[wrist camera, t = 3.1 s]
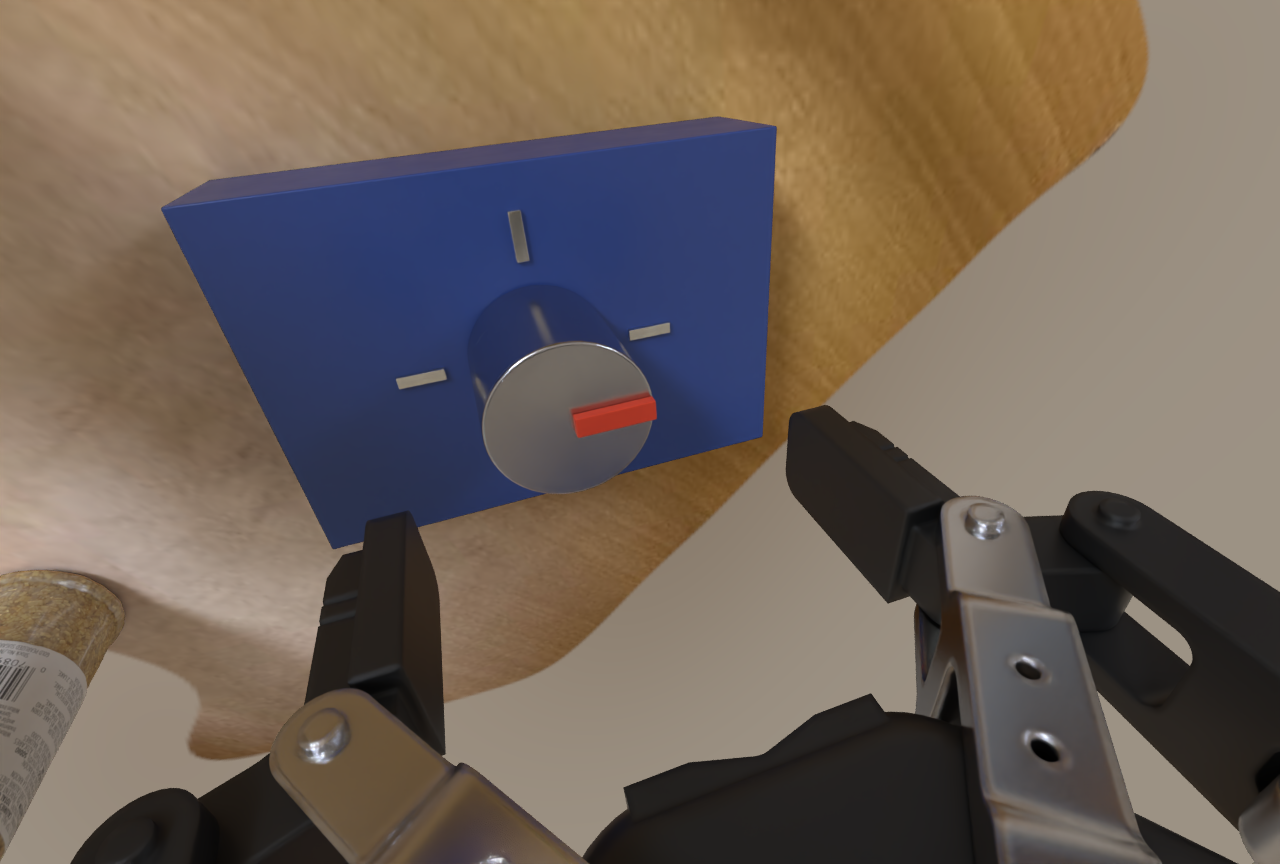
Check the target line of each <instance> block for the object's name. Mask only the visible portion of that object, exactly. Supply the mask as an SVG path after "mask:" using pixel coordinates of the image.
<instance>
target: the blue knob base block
mask: <svg viewBox="0 0 1280 864" xmlns="http://www.w3.org/2000/svg"><path fill="white" fill-rule="evenodd" d="M776 131H777V128H776V126H772V125H766V124H760V123H754V122H748V121H742V120H736V119H730V118H724V117H711V118H703V119H695V120H687V121H679V122H671V123H663V124H655V125H647V126H639V127H631V128H623V129H615V130H607V131H599V132H591V133H583V134H575V135H567V136H559V137H551V138H543V139H536V140H528V141H520V142H512V143H504V144H496V145H488V146H480V147H472V148H464V149H456V150H448V151H440V152H432V153H424V154H416V155H408V156H400V157H392V158H384V159H376V160H368V161H360V162H352V163H344V164H336V165H328V166H320V167H312V168H304V169H296V170H288V171H280V172H272V173H264V174H256V175H248V176H240V177H232V178H224V179H216V180H209V181H207V182H206V183H204V184H202V185H200V186H199V187H197V188H195V189H193V190H192V191H190V192H188V193H186V194H185V195H183V196H181V197H179V198H178V199H176V200H174V201H172V202H171V203H169V204H167V205H165V206H164V207H162V208H161V210H162V212H163V214H164V216H165V218H166V220H167V222H168V224H169V226H170V228H171V230H172V232H173V234H174V236H175V238H176V240H177V242H178V244H179V246H180V248H181V250H182V252H183V254H184V256H185V258H186V260H187V262H188V264H189V266H190V268H191V270H192V272H193V274H194V275H195V277H196V279H197V281H198V283H199V285H200V287H201V289H202V291H203V293H204V295H205V297H206V299H207V301H208V303H209V305H210V307H211V309H212V311H213V313H214V315H215V317H216V319H217V321H218V323H219V325H220V327H221V329H222V331H223V333H224V335H225V337H226V339H227V341H228V343H229V345H230V347H231V349H232V351H233V353H234V355H235V357H236V359H237V361H238V363H239V365H240V367H241V369H242V370H243V372H244V374H245V376H246V378H247V380H248V382H249V384H250V386H251V388H252V390H253V392H254V394H255V396H256V398H257V400H258V402H259V404H260V406H261V408H262V410H263V412H264V414H265V416H266V418H267V420H268V422H269V424H270V426H271V428H272V430H273V432H274V434H275V436H276V438H277V440H278V442H279V444H280V446H281V448H282V450H283V452H284V454H285V456H286V458H287V460H288V462H289V464H290V465H291V467H292V469H293V471H294V473H295V475H296V477H297V479H298V481H299V483H300V485H301V487H302V489H303V491H304V493H305V495H306V497H307V499H308V501H309V503H310V505H311V507H312V509H313V511H314V513H315V515H316V517H317V519H318V521H319V523H320V525H321V527H322V529H323V531H324V533H325V535H326V537H327V539H328V541H329V543H330V545H331V547H332V548H333V549H337V548H341V547H344V546H348V545H352V544H356V543H360V542H363V541H364V534H365V526H366V522H367V521H368V520H372V519H376V518H380V517H384V516H388V515H392V514H395V513H399V512H403V511H407V510H408V511H410V513H411V514H412V516H413V518H414V521H415V523H416V526H417V527H421V526H424V525H428V524H432V523H436V522H440V521H443V520H447V519H451V518H455V517H459V516H463V515H466V514H470V513H474V512H478V511H482V510H485V509H489V508H493V507H497V506H501V505H504V504H508V503H512V502H516V501H520V500H523V499H527V498H531V497H535V496H539V495H543V494H546V493H541V492H536V491H532V490H529V489H527V488H524V487H522V486H520V485H518V484H516V483H514V482H513V481H511V480H510V479H508V478H507V477H506V476H504V475H503V474H502V473H501V472H500V471H499V470H498V469H497V468H496V466H495V465H494V464H493V462H492V461H491V459H490V457H489V456H488V454H487V452H486V449H485V446H484V443H483V438H482V433H481V428H480V422H479V417H478V412H477V407H476V401H475V396H474V391H473V386H472V380H471V375H470V370H469V365H468V355H467V350H468V342H469V338H470V334H471V332H472V329H473V327H474V325H475V323H476V321H477V320H478V318H479V316H480V315H481V314H482V313H483V311H484V310H485V309H486V308H487V307H488V306H489V305H490V304H491V303H492V302H494V301H495V300H496V299H498V298H499V297H500V296H502V295H504V294H506V293H508V292H510V291H512V290H515V289H518V288H521V287H525V286H531V285H552V286H558V287H562V288H565V289H568V290H570V291H572V292H575V293H576V294H578V295H580V296H581V297H583V298H584V299H585V300H587V301H588V302H589V303H590V304H591V305H592V306H593V307H594V308H595V309H596V311H597V312H598V313H599V315H600V316H601V317H602V319H603V320H604V321H605V323H606V324H607V325H608V327H609V328H610V329H611V330H612V332H613V333H614V334H615V336H616V337H617V338H618V340H619V341H620V342H621V344H622V345H623V346H624V348H625V349H626V350H627V352H628V353H629V354H630V356H631V357H632V358H633V360H634V361H635V362H636V364H637V365H638V366H639V368H640V369H641V371H642V372H643V373H644V375H645V377H646V379H647V381H648V383H649V385H650V388H651V392H652V397H653V398H654V400H655V401H656V411H657V419H655V420H652V425H651V429H650V432H649V435H648V437H647V439H646V442H645V443H644V445H643V447H642V449H641V450H640V452H639V453H638V454H637V456H636V457H635V458H634V460H633V461H632V462H631V463H630V464H629V465H628V466H627V467H626V468H625V469H623V470H622V471H621V472H620V473H619V474H623V473H626V472H630V471H634V470H638V469H642V468H645V467H649V466H653V465H657V464H661V463H664V462H668V461H672V460H676V459H680V458H684V457H687V456H691V455H695V454H699V453H703V452H706V451H710V450H714V449H718V448H722V447H725V446H729V445H733V444H737V443H741V442H744V441H748V440H752V439H756V438H760V437H762V435H763V413H764V391H765V370H766V348H767V326H768V305H769V283H770V261H771V239H772V218H773V196H774V174H775V152H776ZM619 474H617V475H619Z"/></svg>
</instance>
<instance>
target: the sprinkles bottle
mask: <svg viewBox="0 0 1280 864" xmlns="http://www.w3.org/2000/svg"><path fill="white" fill-rule="evenodd" d="M124 618H125V614H124V609H123V607H122V602H121V601H120V600H119V599H118V598H117V597H116V596H115V595H114V594H113V593H112V592H110V591H109V590H108V589H106V588H105V587H104V586H103V585H101V584H99V583H96V582H95V581H93V580H91V579H89V578H87V577H84V576H81V575H77V574H73V573H66V572H61V571H49V570H30V571H18V572H13V573H9V574H5V575H1V576H0V861H1V859H2V858H3V856H4V854H5V852H6V850H7V848H8V846H9V844H10V842H11V840H12V838H13V837H14V835H15V833H16V831H17V829H18V827H19V825H20V823H21V821H22V819H23V817H24V815H25V813H26V811H27V809H28V807H29V805H30V803H31V801H32V799H33V797H34V795H35V793H36V792H37V789H38V788H39V786H40V784H41V782H42V780H43V778H44V776H45V774H46V772H47V770H48V768H49V766H50V764H51V762H52V760H53V758H54V757H55V755H56V753H57V751H58V749H59V747H60V745H61V743H62V741H63V739H64V737H65V736H66V734H67V732H68V730H69V728H70V726H71V724H72V722H73V720H74V718H75V716H76V714H77V712H78V711H79V709H80V707H81V705H82V703H83V701H84V698H85V696H86V693H87V688H88V686H89V684H90V682H91V680H92V678H93V677H94V675H95V673H96V671H97V669H98V668H99V666H100V663H101V661H102V660H103V657H104V655H105V653H106V651H107V649H108V647H109V646H110V645H111V644H112V643H113V642H114V641H115V640H116V638H117V637H118V635H119V633H120V631H121V629H122V628H123V625H124Z"/></svg>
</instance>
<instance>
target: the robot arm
mask: <svg viewBox="0 0 1280 864" xmlns="http://www.w3.org/2000/svg"><path fill="white" fill-rule="evenodd" d="M786 477H787V482H788V485H789V487H790V490H791V491H792V493H793V495H794V496H795V498H796V499H797V500H798V501H799V502H800V504H802V505H803V507H804V508H805V509H806V510H807V511H808V513H809V514H810V515H811V516H812V517H813V518H814V520H815V521H816V522H817V523H818V524H819V525H820V526H821V528H822V529H823V530H824V531H825V532H826V533H827V534H828V536H829V537H830V538H831V539H832V540H833V541H834V542H835V544H836V545H837V546H838V547H839V548H840V549H841V550H842V552H843V553H844V554H845V555H846V556H847V557H848V558H849V560H850V561H851V562H852V563H853V564H854V565H855V566H856V568H857V569H858V570H859V571H860V572H861V573H862V574H863V576H864V577H865V578H866V579H867V580H868V581H869V582H870V584H871V585H872V586H873V587H874V588H875V589H876V590H877V592H878V593H879V594H880V595H881V596H882V597H883V598H884V599H885V601H886V602H887V603H891V602H894V601H897V600H900V599H903V598H906V597H909V596H910V597H911V598H912V599H913V600H914V601H915V602H916V603H917V604H916V607H915V612H914V630H915V658H916V683H917V701H916V711H915V714H913V713H905V712H884V711H883V709H882V708H881V706H880V705H879V704H878V703H877V701H876V699H875V698H874V697H873V695H872V694H868V695H865V696H863V697H860V698H857V699H855V700H852V701H849V702H847V703H844V704H842V705H839V706H836V707H834V708H831V709H828V710H826V711H823V712H821V713H818V714H815V715H814V716H812V717H811V718H810V719H809V720H807V721H806V722H805V723H803V724H802V725H801V726H800V727H798V728H797V729H796V730H794V731H793V732H792V733H791V734H789V735H788V736H787V737H786V738H784V739H783V740H782V741H780V742H779V743H778V744H777V745H776V746H774V747H773V748H771V749H770V750H769V751H767V752H766V753H764V754H762V755H759V756H754V757H743V758H733V759H722V760H712V761H701V762H690V763H687V764H684V765H681V766H679V767H676V768H673V769H671V770H668V771H666V772H663V773H660V774H658V775H655V776H652V777H650V778H647V779H645V780H642V781H639V782H637V783H634V784H631V785H629V786H626V787H624V793H625V798H626V803H627V808H628V809H627V810H625V811H624V812H623V813H621V814H620V815H619V816H618V817H616V818H615V819H614V820H613V821H612V822H611V823H610V824H609V825H608V826H607V827H606V828H605V829H604V830H603V831H602V832H601V833H600V834H599V835H598V836H597V838H596V839H595V840H594V841H593V843H592V844H591V845H590V846H589V848H588V849H587V851H586V852H585V854H584V855H583V857H581V856H579V855H578V854H577V853H576V852H575V851H573V850H572V849H571V848H570V847H569V846H567V845H566V844H565V843H564V842H562V841H561V840H560V839H559V838H557V837H556V836H555V835H554V834H553V833H552V832H550V831H549V830H548V829H547V828H546V827H544V826H543V825H542V824H541V823H539V822H538V821H537V820H536V819H535V818H533V817H532V816H531V815H530V814H529V813H527V812H526V811H525V810H524V809H522V808H521V807H520V806H519V805H518V804H516V803H515V802H514V801H513V800H512V799H510V798H509V797H508V796H507V795H505V794H504V793H503V792H502V791H501V790H499V789H498V788H497V787H496V786H494V785H493V784H492V783H491V782H490V781H489V780H487V779H486V778H485V777H484V776H483V775H481V774H480V773H479V772H477V771H476V770H475V769H473V768H472V767H470V766H469V765H467V764H464V763H459V764H458V765H457V766H454V765H453V764H451V763H450V762H448V761H447V760H446V759H445V758H443V757H442V755H445V728H444V702H443V677H442V651H441V626H440V600H439V591H438V585H437V580H436V576H435V573H434V569H433V566H432V564H431V561H430V559H429V556H428V554H427V551H426V549H425V546H424V544H423V541H422V538H421V536H420V533H419V531H418V528H417V526H416V523H415V521H414V518H413V516H412V514H411V513H410V511H408V510H407V511H403V512H399V513H395V514H392V515H388V516H384V517H380V518H376V519H372V520H368V521H367V522H366V526H365V534H364V543H363V550H360V551H357V552H353V553H349V554H345V555H342V557H341V558H340V560H339V561H338V563H337V564H336V566H335V567H334V569H333V570H332V572H331V573H330V575H329V576H328V578H327V581H326V587H325V592H324V598H323V605H324V606H323V607H322V609H321V615H320V620H319V622H320V626H319V627H318V631H317V637H316V643H315V648H314V654H313V659H312V665H311V670H310V676H309V682H308V687H307V693H306V698H305V703H304V706H302V707H301V708H300V709H298V710H297V711H296V712H295V713H294V714H293V715H292V716H291V717H290V718H289V719H288V720H287V722H286V723H285V724H284V725H283V727H282V728H281V730H280V731H279V732H278V734H277V736H276V738H275V740H274V742H273V745H272V748H271V751H270V753H269V754H268V755H267V756H265V757H264V758H263V759H262V760H260V761H259V762H257V763H256V764H254V765H253V766H251V767H250V768H248V769H246V770H245V771H243V772H242V773H240V774H238V775H236V776H235V777H233V778H231V779H230V780H228V781H226V782H225V783H223V784H222V785H220V786H218V787H217V788H215V789H213V790H212V791H210V792H208V793H207V794H205V795H203V796H202V797H200V798H198V799H197V798H196V797H195V796H194V795H193V794H191V793H190V792H188V791H186V790H183V789H180V788H168V789H161V790H158V791H155V792H152V793H149V794H146V795H144V796H142V797H140V798H138V799H136V800H134V801H132V802H131V803H129V804H127V805H126V806H125V807H123V808H121V809H120V810H119V811H117V812H116V813H114V814H113V815H112V816H111V817H110V818H108V819H107V820H106V821H105V822H104V823H103V824H102V825H101V826H100V827H98V828H97V829H96V830H95V831H94V833H93V834H92V835H91V836H90V837H89V838H88V839H87V840H86V841H85V843H84V844H83V845H82V847H81V848H80V849H79V851H78V852H77V854H76V855H75V857H74V859H73V860H72V862H71V864H1237V863H1235V862H1233V861H1231V860H1229V859H1227V858H1225V857H1223V856H1221V855H1219V854H1217V853H1215V852H1213V851H1211V850H1209V849H1207V848H1205V847H1203V846H1201V845H1199V844H1197V843H1195V842H1193V841H1191V840H1189V839H1186V838H1185V837H1182V836H1181V835H1179V834H1176V833H1174V832H1172V831H1170V830H1168V829H1166V828H1164V827H1162V826H1160V825H1158V824H1156V823H1154V822H1152V821H1150V820H1148V819H1146V818H1144V817H1142V816H1140V815H1138V814H1136V813H1134V812H1133V809H1132V805H1131V802H1130V799H1129V796H1128V792H1127V789H1126V786H1125V782H1124V779H1123V776H1122V773H1121V769H1120V766H1119V763H1118V759H1117V756H1116V753H1115V749H1114V746H1113V743H1112V740H1111V736H1110V733H1109V730H1108V726H1107V723H1106V720H1105V717H1104V713H1103V711H1102V707H1101V703H1100V700H1099V697H1098V694H1097V691H1098V692H1099V693H1100V694H1101V695H1102V696H1103V697H1104V698H1105V699H1106V700H1107V701H1108V702H1109V703H1110V704H1111V705H1112V706H1113V707H1114V708H1115V709H1116V710H1117V711H1118V712H1119V713H1120V714H1121V715H1122V716H1123V717H1124V718H1125V719H1126V720H1127V721H1128V722H1129V723H1130V724H1131V725H1132V726H1133V727H1134V728H1135V729H1136V730H1137V731H1138V732H1139V733H1140V734H1141V735H1142V736H1143V737H1144V738H1145V739H1146V740H1147V741H1148V742H1150V744H1152V745H1153V747H1154V748H1155V749H1157V751H1159V753H1160V754H1161V755H1163V756H1164V757H1165V758H1166V759H1167V760H1168V761H1169V762H1170V763H1171V764H1172V765H1173V766H1174V767H1175V768H1176V769H1177V770H1178V771H1179V772H1180V773H1181V774H1182V775H1183V776H1184V777H1185V778H1186V779H1187V780H1188V781H1189V782H1190V783H1191V784H1192V785H1193V786H1194V787H1195V788H1196V789H1197V790H1198V791H1199V792H1200V793H1201V794H1202V795H1203V796H1204V797H1205V798H1206V799H1207V800H1208V801H1209V802H1210V803H1211V804H1212V805H1213V806H1214V807H1215V808H1216V809H1217V810H1218V811H1219V812H1220V813H1221V814H1222V815H1223V816H1224V817H1225V818H1226V819H1227V820H1228V821H1229V822H1230V823H1231V824H1232V825H1233V826H1234V827H1235V828H1236V829H1237V830H1238V831H1239V832H1240V835H1241V838H1242V841H1243V844H1244V845H1245V847H1246V849H1247V851H1248V853H1249V854H1250V856H1251V857H1252V859H1253V860H1254V863H1253V864H1280V592H1279V591H1277V590H1276V589H1274V588H1272V587H1271V586H1270V585H1268V584H1267V583H1265V582H1264V581H1262V580H1260V579H1259V578H1257V577H1255V576H1254V575H1253V574H1251V573H1250V572H1248V571H1247V570H1245V569H1244V568H1242V567H1240V566H1239V565H1237V564H1236V563H1234V562H1233V561H1231V560H1230V559H1228V558H1227V557H1225V556H1223V555H1222V554H1220V553H1219V552H1217V551H1216V550H1214V549H1213V548H1211V547H1210V546H1208V545H1206V544H1205V543H1203V542H1202V541H1200V540H1199V539H1197V538H1196V537H1194V536H1192V535H1191V534H1189V533H1188V532H1186V531H1185V530H1183V529H1182V528H1180V527H1179V526H1177V525H1176V524H1174V523H1173V522H1171V521H1170V520H1168V519H1166V518H1165V517H1163V516H1162V515H1160V514H1159V513H1157V512H1155V511H1154V510H1152V509H1151V508H1149V507H1148V506H1146V505H1144V504H1143V503H1141V502H1139V501H1136V500H1134V499H1132V498H1129V497H1126V496H1123V495H1120V494H1116V493H1111V492H1104V491H1087V492H1081V493H1079V494H1076V495H1075V496H1073V497H1072V498H1071V499H1070V501H1069V504H1068V506H1067V508H1066V511H1065V513H1064V515H1061V516H1033V517H1022V516H1021V515H1020V514H1019V513H1018V512H1017V511H1016V510H1014V509H1013V508H1011V507H1009V506H1008V505H1006V504H1004V503H1001V502H999V501H996V500H993V499H990V498H985V497H980V496H961V497H960V496H958V495H957V494H956V493H955V492H953V491H952V490H951V489H950V488H948V487H947V486H946V485H945V484H943V483H942V482H941V481H939V480H938V479H937V478H936V477H935V476H933V475H932V474H931V473H929V472H928V471H927V470H926V469H924V468H923V467H922V466H921V465H919V464H918V463H917V462H915V461H914V460H913V459H912V458H910V459H909V458H908V455H907V454H906V453H904V452H903V451H902V450H901V449H899V448H898V447H894V444H893V443H892V442H890V441H889V440H888V439H887V438H885V437H884V436H882V434H880V433H879V432H878V431H876V430H874V429H872V428H869V427H867V426H864V425H862V424H860V423H857V422H855V421H852V422H848V421H847V420H846V419H845V418H844V417H842V416H841V415H840V414H838V413H837V412H836V411H835V410H834V409H833V408H831V407H830V406H828V405H823V406H819V407H815V408H811V409H807V410H803V411H799V412H796V413H793V414H792V415H791V417H790V420H789V429H788V444H787V459H786ZM1132 596H1134V597H1136V598H1137V599H1138V600H1139V601H1141V602H1142V603H1143V604H1144V605H1146V606H1147V607H1148V608H1149V609H1151V610H1152V611H1153V612H1155V613H1156V614H1157V615H1158V616H1159V617H1161V618H1162V619H1163V620H1165V621H1166V622H1167V623H1168V624H1170V625H1171V626H1172V627H1173V628H1175V629H1176V630H1177V631H1178V632H1179V633H1180V634H1181V635H1182V636H1183V637H1184V638H1185V640H1186V641H1187V642H1188V644H1189V646H1190V648H1191V651H1192V656H1193V660H1192V663H1191V665H1190V666H1189V665H1188V664H1187V663H1185V662H1184V661H1183V660H1182V659H1181V658H1180V657H1178V656H1177V655H1176V654H1175V653H1174V652H1172V651H1171V650H1170V649H1169V648H1168V647H1166V646H1165V645H1164V644H1163V643H1162V642H1160V641H1159V640H1158V639H1157V638H1156V637H1154V636H1153V635H1152V634H1151V633H1150V632H1148V631H1147V630H1146V629H1145V628H1143V627H1142V626H1141V625H1140V624H1139V623H1138V622H1136V621H1135V620H1134V619H1133V618H1132V617H1130V616H1129V615H1128V614H1127V613H1126V612H1124V611H1125V609H1126V607H1127V605H1128V603H1129V602H1130V600H1131V598H1132Z"/></svg>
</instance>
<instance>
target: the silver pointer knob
mask: <svg viewBox="0 0 1280 864" xmlns="http://www.w3.org/2000/svg"><path fill="white" fill-rule="evenodd" d="M467 355H468V365H469V370H470V375H471V380H472V386H473V391H474V396H475V401H476V407H477V412H478V417H479V422H480V428H481V433H482V438H483V443H484V446H485V449H486V452H487V454H488V456H489V457H490V459H491V461H492V462H493V464H494V465H495V466H496V468H497V469H498V470H499V471H500V472H501V473H502V474H503V475H504V476H506V477H507V478H508V479H510V480H511V481H513V482H514V483H516V484H518V485H520V486H522V487H524V488H527V489H529V490H532V491H536V492H541V493H548V494H568V493H575V492H580V491H584V490H587V489H590V488H593V487H596V486H598V485H600V484H602V483H604V482H606V481H608V480H610V479H611V478H613V477H614V476H616V475H617V474H619V473H620V472H621V471H622V470H623V469H625V468H626V467H627V466H628V465H629V464H630V463H631V462H632V461H633V460H634V458H635V457H636V456H637V454H638V453H639V452H640V450H641V449H642V447H643V445H644V443H645V442H646V439H647V437H648V435H649V432H650V429H651V425H652V420H655V419H657V411H656V401H655V400H654V398H653V397H652V392H651V388H650V385H649V383H648V381H647V379H646V377H645V375H644V373H643V372H642V371H641V369H640V368H639V366H638V365H637V364H636V362H635V361H634V360H633V358H632V357H631V356H630V354H629V353H628V352H627V350H626V349H625V348H624V346H623V345H622V344H621V342H620V341H619V340H618V338H617V337H616V336H615V334H614V333H613V332H612V330H611V329H610V328H609V327H608V325H607V324H606V323H605V321H604V320H603V319H602V317H601V316H600V315H599V313H598V312H597V311H596V309H595V308H594V307H593V306H592V305H591V304H590V303H589V302H588V301H587V300H585V299H584V298H583V297H581V296H580V295H578V294H576V293H575V292H572V291H570V290H568V289H565V288H562V287H558V286H552V285H531V286H525V287H521V288H518V289H515V290H512V291H510V292H508V293H506V294H504V295H502V296H500V297H499V298H498V299H496V300H495V301H494V302H492V303H491V304H490V305H489V306H488V307H487V308H486V309H485V310H484V311H483V313H482V314H481V315H480V316H479V318H478V320H477V321H476V323H475V325H474V327H473V329H472V332H471V334H470V338H469V342H468V350H467Z"/></svg>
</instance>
